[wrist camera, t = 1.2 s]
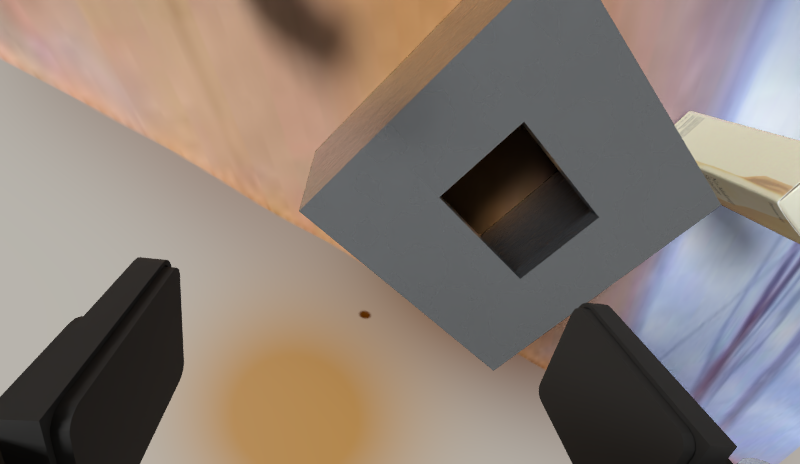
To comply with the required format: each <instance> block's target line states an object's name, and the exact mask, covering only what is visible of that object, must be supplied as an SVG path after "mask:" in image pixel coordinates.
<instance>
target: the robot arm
mask: <svg viewBox="0 0 800 464" xmlns="http://www.w3.org/2000/svg"><path fill="white" fill-rule="evenodd" d="M180 291H181V290H180V273H179V269H178V268H172V267H171V264H170V262H169V261H168V260H161V259H160V260H159V259H151V258H141V257H140V258H137V259H136V260H134V261H133V263H132V264H131V265H130V266H129V267H128V268H127V269H126V270H125V271H124V272H123V274H122V275H121V276H120V277H119V278H118V279H117V280H116V281H115V282H114V283H113V285H112V286H111V287H110V288H109V289H108V290H107V291H106V292H105V293H104V295H103V296H102V297H101V298H100V299H99V300H98V301H97V302H96V303H95V304H94V305H93V307H92V308H91V309H90V310H89V311H88V312H87V313H86V314H85V315H84V316H83V317H82V316H81V317H78V318H75V319H74V320H73V321H72V322H70V323H69V324H68V325H67V326H66V327H65V328H64V329H63V330H62V332H61V333H60V334H59V335H58V336H57V337H56V338H55V339H54V340H53V341H52V342H51V343H50V344H49V346H48V347H47V348H46V349H45V350H44V351H43V352H42V353H41V354H40V355H39V356H38V357H37V358H36V359H35V360H34V361H33V363H32V364H31V365H30V366H29V367H28V368H27V369H26V370H25V371H24V372H23V373H22V374H21V375H20V376H19V377H18V379H17V380H16V381H15V382H14V383H13V384H12V385H11V386H10V387H9V388H8V389H7V390H6V391H5V392H4V394H3V395H2V396H1V397H0V464H140V462H141V460H142V458H143V456H144V454H145V452H146V450H147V448H148V446H149V443H150V441H151V439H152V437H153V435H154V433H155V431H156V429H157V427H158V425H159V422H160V420H161V418H162V416H163V414H164V412H165V410H166V408H167V406H168V404H169V402H170V400H171V398H172V395H173V393H174V391H175V389H176V387H177V385H178V383H179V381H180V378H181V375H182V372H183V366H184V357H183V334H182V312H181V292H180ZM539 396H540V399H541V402H542V404H543V406H544V408H545V409H546V411H547V414H548V415H549V417H550V420H551V421H552V423H553V426H554V428H555V429H556V431H557V433H558V435H559V437H560V439H561V441H562V443H563V445H564V447H565V449H566V451H567V453H568V455H569V457H570V459H571V461H572V463H573V464H733V463H732V462H731V461H730V460H729V459H728V458H729V456H730V455H731V454H732V453H733V451H734V450H735V449H736V448H737V446H736V445H735V444H734V443H733V442H732V441H731V439H730V438H729V437H728V436H727V435H726V434H725V433H724V432H723V431H722V430H721V428H720V427H719V426H718V425H717V424H716V423H715V422H714V421H713V420H712V419H711V417H710V416H709V415H708V414H707V413H706V412H705V411H704V410H703V409H702V408H701V406H700V405H699V404H698V403H697V402H696V401H695V400H694V399H693V398H692V397H691V395H690V394H689V393H688V392H687V391H686V390H685V389H684V388H683V387H682V386H681V384H680V383H679V382H678V381H677V380H676V379H675V378H674V377H673V376H672V374H671V373H670V372H669V371H668V370H667V369H666V368H665V367H664V366H663V365H662V363H661V362H660V361H659V360H658V359H657V358H656V357H655V356H654V355H653V354H652V352H651V351H650V350H649V349H648V348H647V347H646V346H645V345H644V344H643V343H642V341H641V340H640V339H639V338H638V337H637V336H636V335H635V334H634V333H633V332H632V330H631V329H630V328H629V327H628V326H627V325H626V324H625V323H624V322H623V321H622V319H621V318H620V317H619V316H618V315H617V314H616V313H615V312H614V311H613V310H612V308H610V307H609V306H608V305H603V304H593V303H583V304H581V305H580V306H579V308H576V309H574V311H573V312H572V314H571V316H570V319H569V321H568V323H567V325H566V328H565V330H564V332H563V334H562V336H561V339H560V341H559V343H558V345H557V347H556V350H555V352H554V354H553V356H552V359H551V361H550V363H549V365H548V367H547V370H546V372H545V374H544V376H543V379H542V381H541V383H540V386H539ZM737 464H770V463H768V462H765V461H763V460H758V459H754V458H744V459H742V460H741V461H739V462H738V463H737Z"/></svg>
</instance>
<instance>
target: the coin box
mask: <svg viewBox="0 0 800 464" xmlns="http://www.w3.org/2000/svg"><path fill="white" fill-rule="evenodd" d="M521 124H523V125H524V127H525V128H526V129H527V131H528V132H529V133H530V134H531V136H532V137H533V138H534V139H535V141H536V142H537V143H538V144H539V146H540V147H541V148H542V150H543V151H544V152H545V153H546V155H547V156H548V157H549V158H550V160H551V161H552V162H553V163H554V165H555V166H556V167H557V169H558V170H559V171H557V172H556V173H555V174H554V175H553V176H551V177H550V178H549V179H548V180H547V181H545V182H544V183H543V184H542V185H541V186H539V187H538V188H537V189H536V190H535V191H533V192H532V193H531V194H530V195H529V196H527V197H526V198H525V199H524V200H523V201H521V202H520V203H519V204H518V205H517V206H516V207H514V208H513V209H512V210H511V211H510V212H508V213H507V214H506V215H505V216H504V217H502V218H501V219H500V220H499V221H498V222H496V223H495V224H494V225H493V226H492V227H490V228H489V229H488V230H487V231H486V232H484V233H483V234H482V235H481V236H480V235H479V234H478V233H477V232H476V231H475V230H474V229H473V228H472V227H471V226H470V225H469V224H468V223H467V222H466V221H465V220H464V219H463V218H462V217H461V216H460V215H459V214H458V213H457V212H456V211H455V210H454V209H453V208H452V207H451V206H450V205H449V204H448V203H447V202H446V201H445V200H444V199H443V198H442V197H441V195H442V194H444V193H445V192H446V191H447V190H448V189H449V188H450V187H451V186H453V185H454V184H455V183H456V182H457V181H458V180H459V179H460V178H461V177H463V176H464V175H465V174H466V173H467V172H468V171H469V170H470V169H472V168H473V167H474V166H475V165H476V164H477V163H478V162H479V161H481V160H482V159H483V158H484V157H485V156H486V155H487V154H488V153H489V152H491V151H492V150H493V149H494V148H495V147H496V146H497V145H498V144H500V143H501V142H502V141H503V140H504V139H505V138H506V137H507V136H509V135H510V134H511V133H512V132H513V131H514V130H515V129H516V128H517V127H519V126H520V125H521ZM720 205H721V203H720V202H719V200H718V198H717V197H716V195H715V193H714V191H713V190H712V188H711V186H710V185H709V183H708V181H707V180H706V178H705V176H704V175H703V173H702V171H701V169H700V168H699V166H698V164H697V163H696V161H695V159H694V158H693V156H692V154H691V153H690V151H689V149H688V147H687V146H686V144H685V142H684V141H683V139H682V137H681V136H680V134H679V132H678V131H677V129H676V127H675V125H674V124H673V122H672V120H671V119H670V117H669V115H668V114H667V112H666V110H665V109H664V107H663V105H662V103H661V102H660V100H659V98H658V97H657V95H656V93H655V92H654V90H653V88H652V87H651V85H650V83H649V81H648V80H647V78H646V76H645V75H644V73H643V71H642V70H641V68H640V66H639V64H638V63H637V61H636V59H635V58H634V56H633V54H632V53H631V51H630V49H629V48H628V46H627V44H626V42H625V41H624V39H623V37H622V36H621V34H620V32H619V31H618V29H617V27H616V26H615V24H614V22H613V20H612V19H611V17H610V15H609V14H608V12H607V10H606V9H605V7H604V5H603V4H602V2H601V0H462V1H461V2H460V3H459V4H458V5H457V6H456V7H455V8H454V9H453V10H452V11H451V12H450V13H449V15H448V16H447V17H446V18H445V19H444V20H443V21H442V22H441V23H440V24H439V25H438V26H437V27H436V28H435V29H434V30H433V31H432V32H431V33H430V34H429V35H428V36H427V37H426V38H425V39H424V40H423V41H422V42H421V43H420V44H419V45H418V46H417V47H416V48H415V49H414V50H413V51H412V53H411V54H410V55H409V56H408V57H407V58H406V59H405V60H404V61H403V62H402V63H401V64H400V65H399V66H398V67H397V68H396V69H395V70H394V71H393V72H392V73H391V74H390V75H389V76H388V77H387V78H386V79H385V80H384V81H383V82H382V83H381V84H380V85H379V86H378V87H377V88H376V89H375V91H374V92H373V93H372V94H371V95H370V96H369V97H368V98H367V99H366V100H365V101H364V102H363V103H362V104H361V105H360V106H359V107H358V108H357V109H356V110H355V111H354V112H353V113H352V114H351V115H350V116H349V117H348V118H347V119H346V120H345V121H344V122H343V123H342V124H341V125H340V126H339V128H338V129H337V130H336V131H335V132H334V133H333V134H332V135H331V136H330V137H329V138H328V139H327V140H326V141H325V142H324V143H323V144H322V145H321V146H320V147H319V148H318V149H317V150H316V151H315V155H314V159H313V162H312V166H311V170H310V173H309V177H308V180H307V184H306V188H305V191H304V195H303V198H302V202H301V206H300V209H299V211H300V212H301V213H302V214H303V215H304V216H306V217H307V218H308V219H309V220H311V221H312V222H313V223H314V224H315V225H317V226H318V227H319V228H320V229H322V230H323V231H324V232H325V233H326V234H328V235H329V236H330V237H331V238H333V239H334V240H335V241H336V242H337V243H339V244H340V245H341V246H342V247H343V248H345V249H346V250H347V251H348V252H350V253H351V254H352V255H353V256H354V257H356V258H357V259H358V260H359V261H361V262H362V263H363V264H364V265H365V266H367V267H368V268H369V269H370V270H372V271H373V272H374V273H375V274H376V275H378V276H379V277H380V278H381V279H383V280H384V281H385V282H386V283H388V284H389V285H390V286H391V287H392V288H394V289H395V290H396V291H397V292H398V293H400V294H401V295H402V296H403V297H405V298H406V299H407V300H408V301H409V302H411V303H412V304H413V305H414V306H415V307H417V308H418V309H419V310H420V311H422V312H423V313H424V314H425V315H426V316H428V317H429V318H430V319H431V320H433V321H434V322H435V323H436V324H437V325H439V326H440V327H441V328H442V329H444V330H445V331H446V332H447V333H448V334H450V335H451V336H452V337H453V338H454V339H456V340H457V341H458V342H459V343H461V344H462V345H463V346H464V347H465V348H467V349H468V350H469V351H470V352H471V353H473V354H474V355H475V356H476V357H478V358H479V359H480V360H482V362H484V363H485V364H486V365H487V366H489V367H490V368H491V369H492V370H495V369H496V368H498V367H499V366H501V365H502V364H503V363H504V362H506V361H507V360H509V359H510V358H512V357H513V356H514V355H516V354H517V353H518V352H520V351H521V350H523V349H524V348H525V347H527V346H528V345H529V344H531V343H532V342H534V341H535V340H536V339H538V338H539V337H540V336H542V335H543V334H545V333H546V332H547V331H549V330H550V329H551V328H553V327H554V326H556V325H557V324H558V323H560V322H561V321H562V320H564V319H565V318H567V317H568V316H569V315H571V314H572V312H573V311H574V309H576V308H579V306H580V305H581V304H583V303H587V302H589V301H590V300H591V299H593V298H594V297H595V296H597V295H598V294H600V293H601V292H602V291H604V290H605V289H606V288H608V287H609V286H611V285H612V284H613V283H615V282H616V281H617V280H619V279H620V278H622V277H623V276H624V275H626V274H627V273H628V272H630V271H631V270H633V269H634V268H635V267H637V266H638V265H639V264H641V263H642V262H643V261H645V260H646V259H648V258H649V257H650V256H652V255H653V254H654V253H656V252H657V251H659V250H660V249H661V248H663V247H664V246H665V245H667V244H668V243H670V242H671V241H672V240H674V239H675V238H676V237H678V236H679V235H681V234H682V233H683V232H685V231H686V230H687V229H689V228H690V227H692V226H693V225H694V224H696V223H697V222H698V221H700V220H701V219H703V218H704V217H705V216H707V215H708V214H709V213H711V212H712V211H714V210H715V209H716V208H718V207H719V206H720Z"/></svg>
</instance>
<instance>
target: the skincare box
mask: <svg viewBox="0 0 800 464" xmlns="http://www.w3.org/2000/svg"><path fill="white" fill-rule="evenodd" d="M675 127H676V129H677V131H678V132H679V134H680V136H681V137H682V139H683V141H684V142H685V144H686V146H687V147H688V149H689V151H690V153H691V154H692V156H693V158H694V159H695V161H696V163H697V164H698V166H699V168H700V169H701V171H702V173H703V175H704V176H705V178H706V180H707V181H708V183H709V185H710V186H711V188H712V190H713V191H714V193H715V195H716V197H717V198H718V200H719V202H720V203H721V205H722V206H724V207H726V208H728V209H730V210H732V211H734V212H736V213H738V214H740V215H743V216H745V217H746V218H748V219H750V220H752V221H754V222H756V223H758V224H760V225H762V226H764V227H766V228H769V229H770V230H772V231H774V232H776V233H778V234H780V235H782V236H784V237H787V238H789V239H791V240H793V241H795V242H797V243H799V244H800V141H799V140H795V139H791V138H788V137H784V136H781V135H777V134H773V133H769V132H766V131H762V130H758V129H755V128H751V127H747V126H744V125H740V124H737V123H733V122H729V121H725V120H722V119H718V118H715V117H711V116H707V115H704V114H700V113H697V112H693V111H689V112H688V113H687V114H686V115H685V116H684V117H682V118H681V119H680V120H679V121H678V122H677V123H676V124H675Z"/></svg>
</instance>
